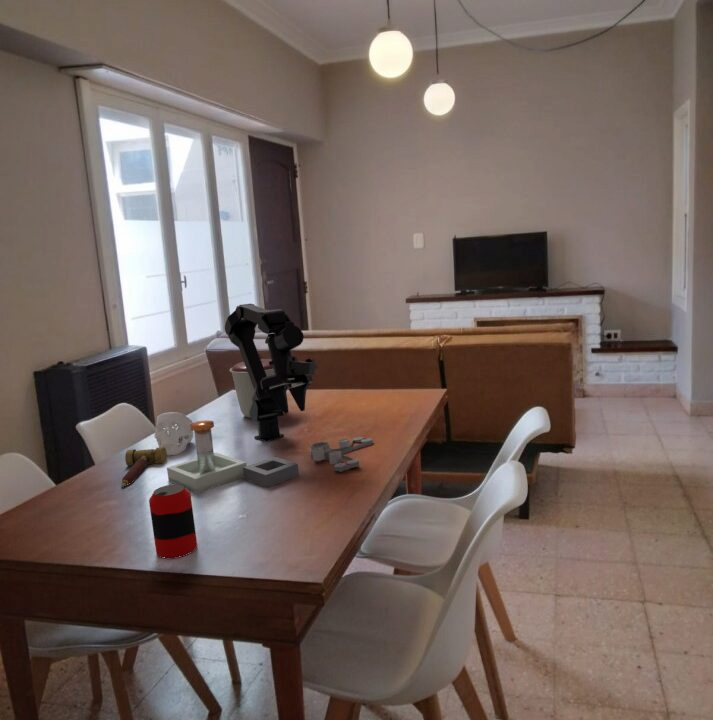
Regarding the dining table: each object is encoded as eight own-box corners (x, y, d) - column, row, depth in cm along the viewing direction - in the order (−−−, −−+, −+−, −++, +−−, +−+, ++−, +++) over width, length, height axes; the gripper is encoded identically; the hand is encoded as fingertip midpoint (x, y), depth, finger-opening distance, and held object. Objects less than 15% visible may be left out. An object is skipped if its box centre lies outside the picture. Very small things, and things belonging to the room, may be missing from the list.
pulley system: (297, 478, 166) (357, 474, 163) (294, 459, 165) (354, 455, 162) (323, 447, 193) (375, 443, 190) (321, 431, 192) (373, 426, 189)
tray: (168, 481, 169) (166, 467, 168) (217, 465, 178) (216, 452, 177) (197, 493, 158) (195, 479, 158) (247, 475, 168) (245, 462, 167)
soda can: (148, 557, 127) (139, 496, 125) (172, 539, 134) (164, 481, 132) (182, 561, 124) (173, 498, 122) (205, 543, 131) (197, 483, 129)
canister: (242, 425, 216) (235, 360, 212) (229, 414, 233) (222, 353, 229) (296, 415, 223) (290, 352, 219) (280, 405, 239) (274, 346, 236)
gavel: (141, 475, 165) (101, 478, 166) (144, 493, 167) (104, 496, 167) (165, 444, 186) (129, 447, 186) (168, 460, 187) (132, 462, 187)
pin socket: (244, 479, 166) (243, 467, 165) (276, 468, 172) (274, 456, 171) (267, 487, 159) (265, 475, 158) (299, 475, 165) (297, 463, 164)
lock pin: (195, 472, 170) (189, 422, 168) (218, 469, 171) (212, 419, 169) (196, 479, 165) (190, 427, 162) (219, 476, 166) (214, 424, 164)
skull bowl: (146, 455, 187) (148, 412, 192) (162, 467, 200) (163, 427, 205) (184, 451, 187) (185, 409, 192) (197, 463, 200) (198, 424, 205)
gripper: (290, 346, 171) (305, 406, 170) (322, 348, 188) (336, 402, 187) (253, 358, 175) (267, 417, 174) (288, 358, 193) (301, 412, 191)
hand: (294, 411), depth 181 cm, fingers open, 9 cm apart
